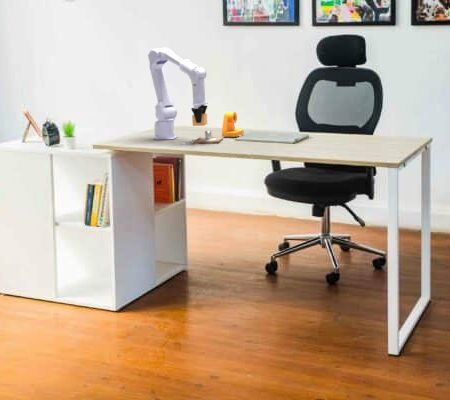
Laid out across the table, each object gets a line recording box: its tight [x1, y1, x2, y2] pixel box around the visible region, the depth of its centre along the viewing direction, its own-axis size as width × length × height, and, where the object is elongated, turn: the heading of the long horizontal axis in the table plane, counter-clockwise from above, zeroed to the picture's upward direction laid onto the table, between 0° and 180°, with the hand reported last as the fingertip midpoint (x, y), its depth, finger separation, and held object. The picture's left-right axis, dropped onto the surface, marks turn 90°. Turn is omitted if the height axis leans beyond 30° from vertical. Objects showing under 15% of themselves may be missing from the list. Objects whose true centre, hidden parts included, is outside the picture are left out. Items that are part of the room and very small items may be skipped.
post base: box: [193, 136, 224, 145], centre depth 449 cm, size 12×12×1 cm
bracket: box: [221, 111, 245, 138], centre depth 462 cm, size 11×7×12 cm, turn 154°
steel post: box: [204, 130, 212, 140], centre depth 449 cm, size 3×3×5 cm
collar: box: [191, 113, 208, 127], centre depth 448 cm, size 6×6×5 cm
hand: (200, 121), depth 448 cm, fingers closed on collar, 6 cm apart
